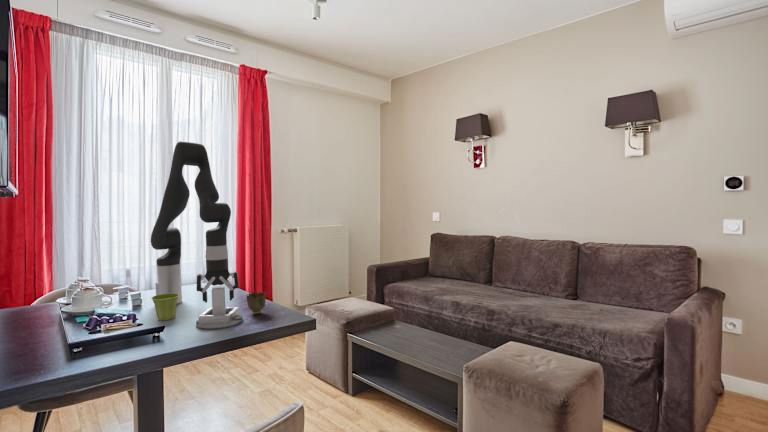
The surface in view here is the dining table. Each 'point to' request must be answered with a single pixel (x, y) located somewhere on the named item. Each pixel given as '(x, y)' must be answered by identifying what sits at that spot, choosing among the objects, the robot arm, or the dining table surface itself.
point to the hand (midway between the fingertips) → (218, 300)
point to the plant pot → (165, 305)
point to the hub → (219, 319)
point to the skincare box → (218, 300)
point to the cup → (256, 302)
